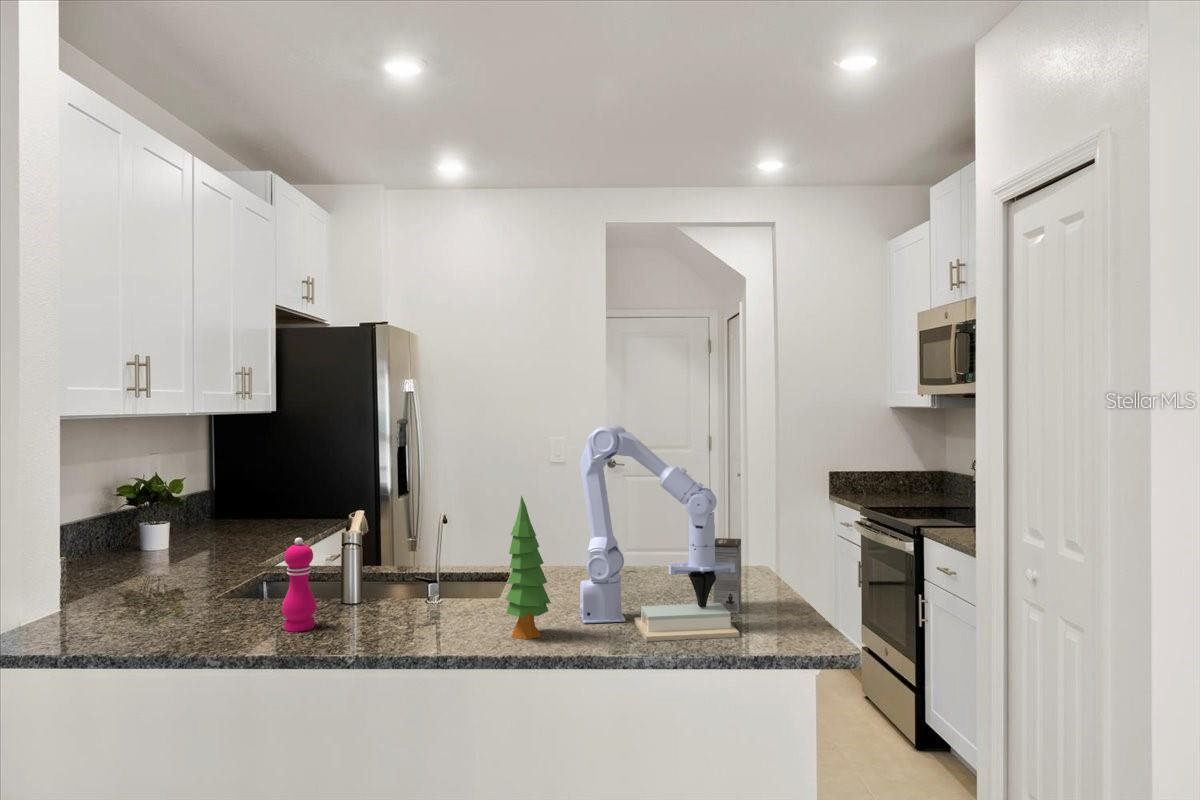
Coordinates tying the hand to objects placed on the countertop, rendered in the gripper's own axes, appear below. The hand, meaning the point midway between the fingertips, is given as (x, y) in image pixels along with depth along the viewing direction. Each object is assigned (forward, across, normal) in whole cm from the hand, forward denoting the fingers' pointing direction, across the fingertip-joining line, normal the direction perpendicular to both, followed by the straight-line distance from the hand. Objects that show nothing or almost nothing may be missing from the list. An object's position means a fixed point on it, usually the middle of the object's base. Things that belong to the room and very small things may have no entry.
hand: (702, 605), depth 179 cm
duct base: (+5, -4, -1) cm, 6 cm away
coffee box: (+5, +10, +14) cm, 18 cm away
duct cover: (+1, -4, -1) cm, 4 cm away
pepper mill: (+5, -88, +13) cm, 89 cm away
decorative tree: (+5, -38, 0) cm, 38 cm away
